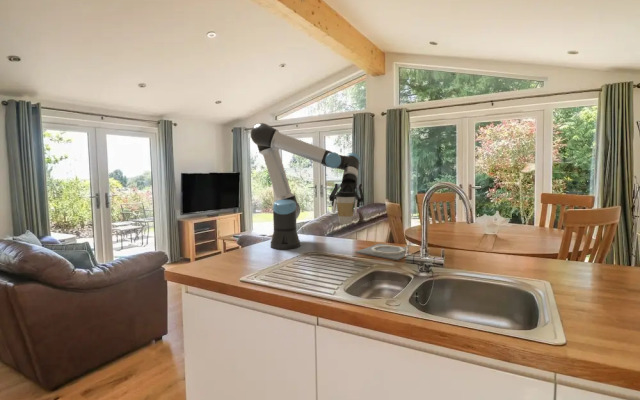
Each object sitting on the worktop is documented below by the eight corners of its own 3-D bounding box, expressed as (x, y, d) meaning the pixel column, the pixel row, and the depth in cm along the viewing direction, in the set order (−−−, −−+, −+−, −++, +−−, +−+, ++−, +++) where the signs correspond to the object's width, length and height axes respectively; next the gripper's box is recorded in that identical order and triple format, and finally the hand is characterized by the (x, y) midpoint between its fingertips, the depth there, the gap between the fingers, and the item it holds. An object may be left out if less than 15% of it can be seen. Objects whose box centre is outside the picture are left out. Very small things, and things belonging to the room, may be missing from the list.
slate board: (355, 252, 165) (355, 249, 164) (379, 244, 181) (379, 241, 181) (397, 260, 150) (397, 257, 150) (419, 250, 167) (419, 248, 167)
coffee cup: (358, 222, 172) (359, 192, 171) (349, 225, 164) (350, 193, 163) (341, 220, 178) (341, 191, 176) (331, 223, 169) (331, 192, 168)
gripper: (372, 182, 181) (368, 217, 167) (329, 182, 187) (322, 215, 173) (371, 172, 176) (367, 207, 162) (327, 172, 181) (320, 206, 167)
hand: (344, 211), depth 167 cm, fingers closed on coffee cup, 10 cm apart
